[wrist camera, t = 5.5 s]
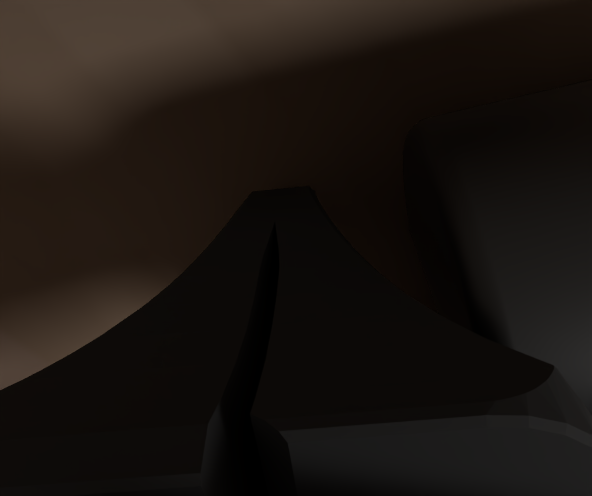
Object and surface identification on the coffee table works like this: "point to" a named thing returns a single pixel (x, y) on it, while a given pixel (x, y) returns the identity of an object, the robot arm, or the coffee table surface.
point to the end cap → (510, 223)
